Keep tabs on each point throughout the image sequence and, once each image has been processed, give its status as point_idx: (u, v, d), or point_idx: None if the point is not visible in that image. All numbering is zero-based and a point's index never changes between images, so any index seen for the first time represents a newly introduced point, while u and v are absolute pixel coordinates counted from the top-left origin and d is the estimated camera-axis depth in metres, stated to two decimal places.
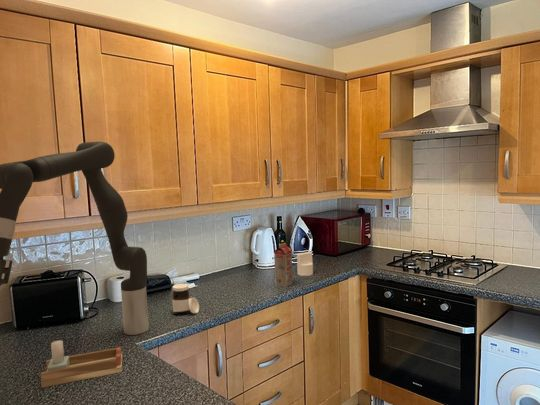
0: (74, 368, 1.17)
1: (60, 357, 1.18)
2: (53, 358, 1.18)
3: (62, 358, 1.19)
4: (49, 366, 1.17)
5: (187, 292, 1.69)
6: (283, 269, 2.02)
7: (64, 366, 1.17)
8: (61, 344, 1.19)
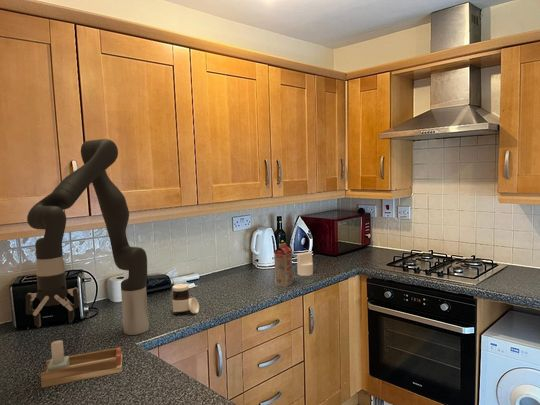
0: (74, 368, 1.17)
1: (60, 357, 1.18)
2: (53, 358, 1.18)
3: (62, 358, 1.19)
4: (49, 366, 1.17)
5: (187, 292, 1.69)
6: (283, 269, 2.02)
7: (64, 366, 1.17)
8: (61, 344, 1.19)
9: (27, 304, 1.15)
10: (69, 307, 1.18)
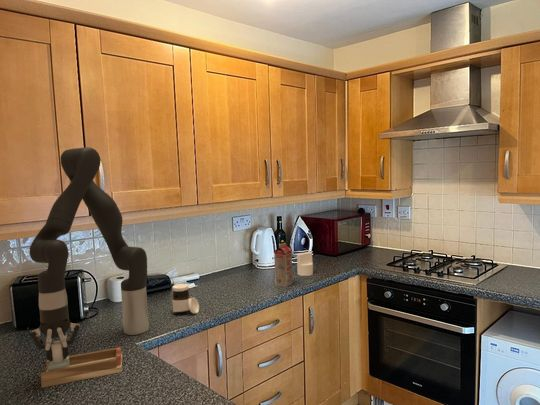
0: (74, 368, 1.17)
1: (60, 357, 1.18)
2: (53, 358, 1.18)
3: (62, 358, 1.19)
4: (49, 366, 1.17)
5: (187, 292, 1.69)
6: (283, 269, 2.02)
7: (64, 366, 1.17)
8: (61, 344, 1.19)
9: (35, 341, 1.16)
10: (64, 343, 1.19)
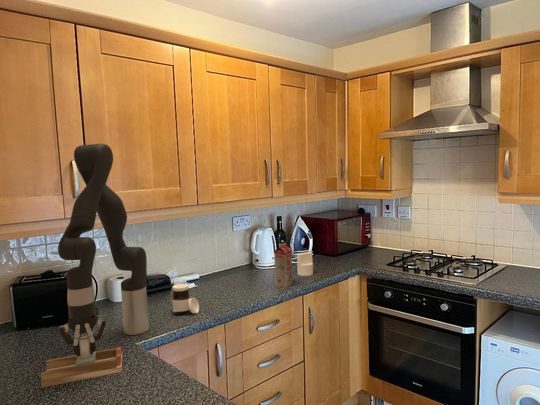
0: (74, 368, 1.17)
1: (87, 352, 1.21)
2: (81, 353, 1.21)
3: (89, 353, 1.22)
4: (77, 361, 1.19)
5: (187, 292, 1.69)
6: (283, 269, 2.02)
7: (92, 361, 1.20)
8: (88, 339, 1.21)
9: (64, 336, 1.19)
10: (92, 339, 1.21)
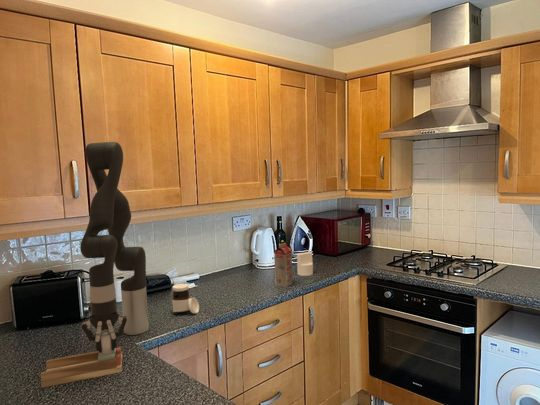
0: (74, 368, 1.17)
1: (109, 348, 1.23)
2: (102, 349, 1.23)
3: (111, 349, 1.24)
4: (99, 357, 1.21)
5: (187, 292, 1.69)
6: (283, 269, 2.02)
7: (113, 357, 1.22)
8: (110, 336, 1.23)
9: (86, 332, 1.21)
10: (113, 335, 1.23)
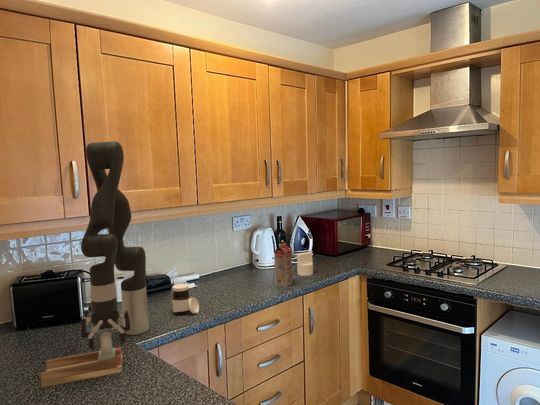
0: (74, 368, 1.17)
1: (109, 348, 1.23)
2: (102, 349, 1.23)
3: (111, 349, 1.24)
4: (99, 357, 1.21)
5: (187, 292, 1.69)
6: (283, 269, 2.02)
7: (113, 357, 1.22)
8: (110, 336, 1.23)
9: (82, 328, 1.20)
10: (121, 330, 1.24)
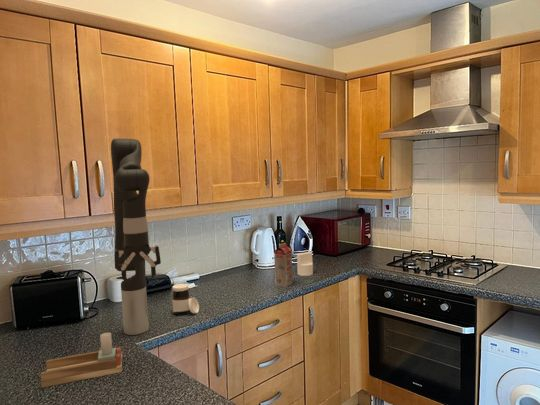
0: (74, 368, 1.17)
1: (109, 348, 1.23)
2: (102, 349, 1.23)
3: (111, 349, 1.24)
4: (99, 357, 1.21)
5: (187, 292, 1.69)
6: (283, 269, 2.02)
7: (113, 357, 1.22)
8: (110, 336, 1.23)
9: (116, 259, 1.24)
10: (152, 263, 1.28)
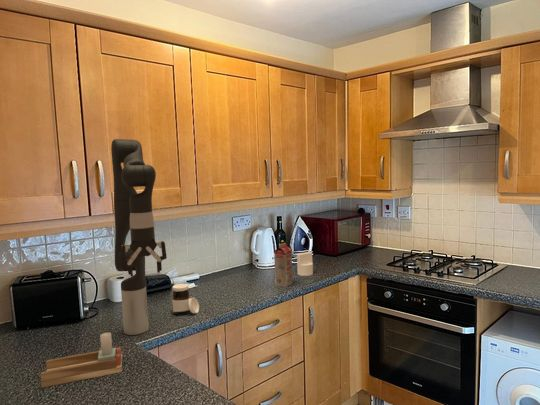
0: (74, 368, 1.17)
1: (109, 348, 1.23)
2: (102, 349, 1.23)
3: (111, 349, 1.24)
4: (99, 357, 1.21)
5: (187, 292, 1.69)
6: (283, 269, 2.02)
7: (113, 357, 1.22)
8: (110, 336, 1.23)
9: (122, 254, 1.25)
10: (158, 258, 1.29)
